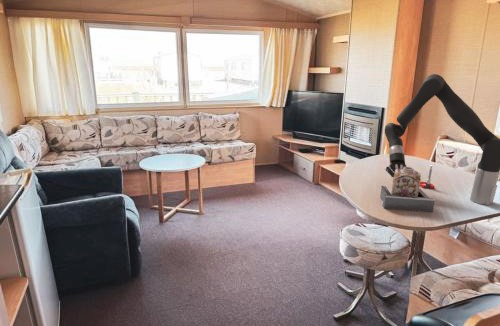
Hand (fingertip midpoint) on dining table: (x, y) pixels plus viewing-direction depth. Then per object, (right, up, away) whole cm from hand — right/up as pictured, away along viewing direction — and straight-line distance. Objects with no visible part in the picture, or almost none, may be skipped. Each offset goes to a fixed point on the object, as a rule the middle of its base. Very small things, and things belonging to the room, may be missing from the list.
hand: (399, 184), depth 173 cm
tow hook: (+23, -2, +19) cm, 30 cm away
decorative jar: (0, -9, -5) cm, 10 cm away
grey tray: (-1, -9, -8) cm, 12 cm away
